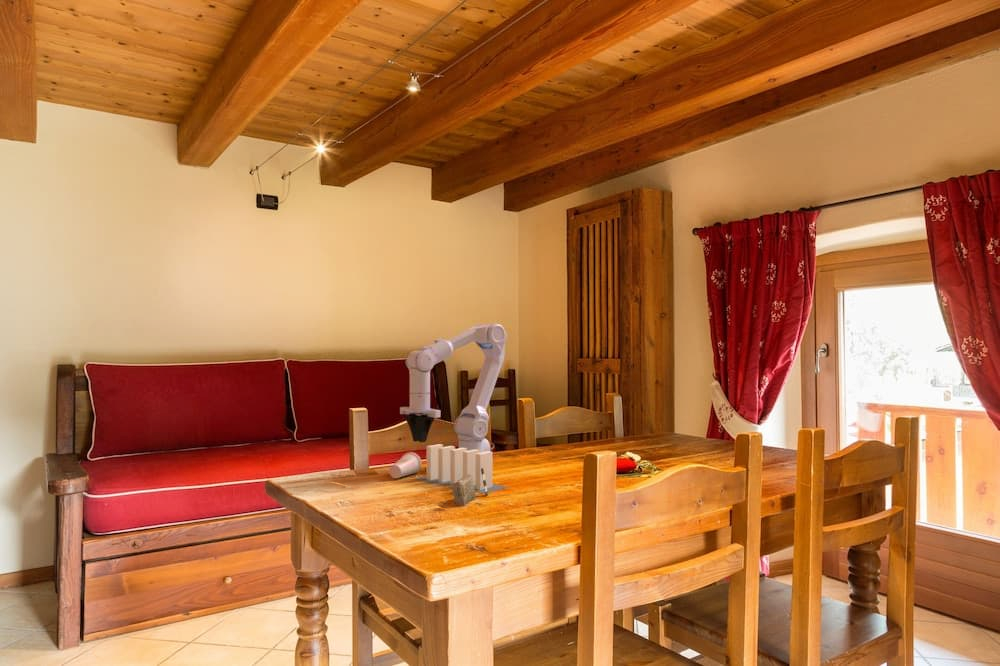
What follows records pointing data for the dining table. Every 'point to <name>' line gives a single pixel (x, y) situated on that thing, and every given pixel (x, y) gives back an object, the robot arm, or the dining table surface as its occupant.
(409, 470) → the smoothie
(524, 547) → the dining table surface
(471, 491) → the cuneiform tablet
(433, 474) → the domino
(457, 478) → the domino
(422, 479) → the runner mat
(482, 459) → the domino
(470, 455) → the domino
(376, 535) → the dining table surface
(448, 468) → the domino
